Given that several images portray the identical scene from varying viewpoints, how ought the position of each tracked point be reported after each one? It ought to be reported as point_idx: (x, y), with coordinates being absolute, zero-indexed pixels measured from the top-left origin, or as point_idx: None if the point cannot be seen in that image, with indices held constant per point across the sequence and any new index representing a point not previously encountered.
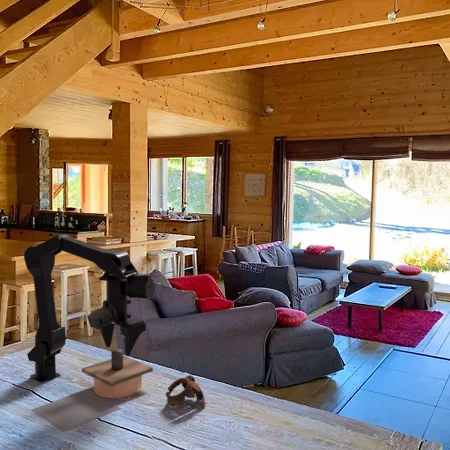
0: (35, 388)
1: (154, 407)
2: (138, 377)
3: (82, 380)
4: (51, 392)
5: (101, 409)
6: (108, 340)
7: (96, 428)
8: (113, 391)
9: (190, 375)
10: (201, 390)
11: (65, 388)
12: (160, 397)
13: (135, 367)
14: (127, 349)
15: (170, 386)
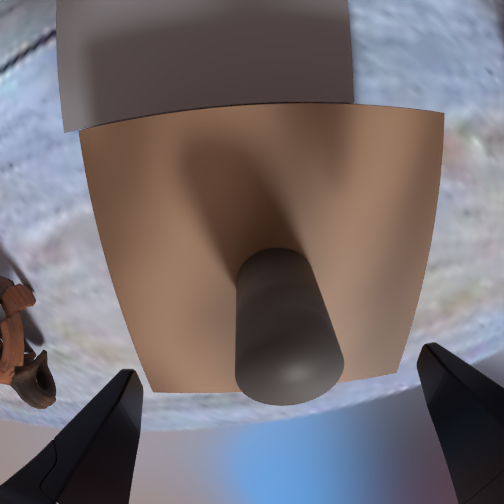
0: (497, 8)
1: (30, 243)
2: None
3: (451, 163)
4: (438, 7)
5: (103, 57)
6: (446, 400)
7: (18, 9)
8: None
9: (34, 407)
10: None
11: (437, 64)
12: (85, 300)
13: (206, 351)
14: (85, 412)
15: (1, 331)
